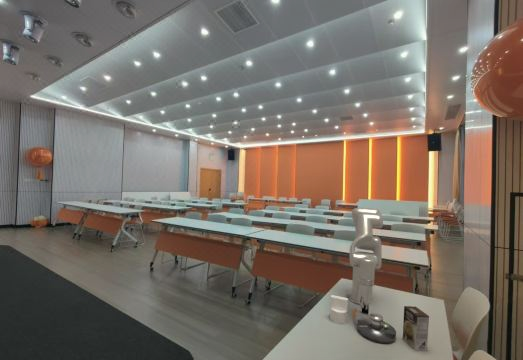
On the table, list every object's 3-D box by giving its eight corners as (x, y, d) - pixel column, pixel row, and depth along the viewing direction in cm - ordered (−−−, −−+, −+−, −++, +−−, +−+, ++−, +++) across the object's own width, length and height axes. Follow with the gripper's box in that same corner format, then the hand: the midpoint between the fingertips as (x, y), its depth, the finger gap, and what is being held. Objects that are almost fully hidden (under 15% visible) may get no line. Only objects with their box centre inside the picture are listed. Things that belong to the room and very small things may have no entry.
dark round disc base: (351, 332, 128) (351, 323, 128) (364, 319, 141) (364, 311, 141) (389, 349, 116) (390, 340, 116) (400, 333, 129) (400, 325, 129)
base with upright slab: (329, 321, 137) (330, 299, 137) (330, 314, 145) (331, 292, 146) (346, 325, 134) (347, 302, 134) (347, 317, 142) (348, 296, 143)
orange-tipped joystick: (384, 327, 129) (384, 316, 129) (380, 331, 124) (380, 320, 124) (355, 315, 139) (355, 306, 139) (351, 319, 134) (351, 309, 134)
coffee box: (401, 338, 125) (403, 305, 125) (414, 338, 125) (415, 305, 125) (414, 351, 116) (416, 315, 116) (428, 351, 116) (429, 315, 116)
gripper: (364, 276, 144) (362, 308, 144) (354, 282, 133) (352, 318, 133) (378, 280, 139) (376, 313, 139) (368, 287, 128) (367, 324, 128)
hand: (364, 315), depth 136 cm, fingers closed
